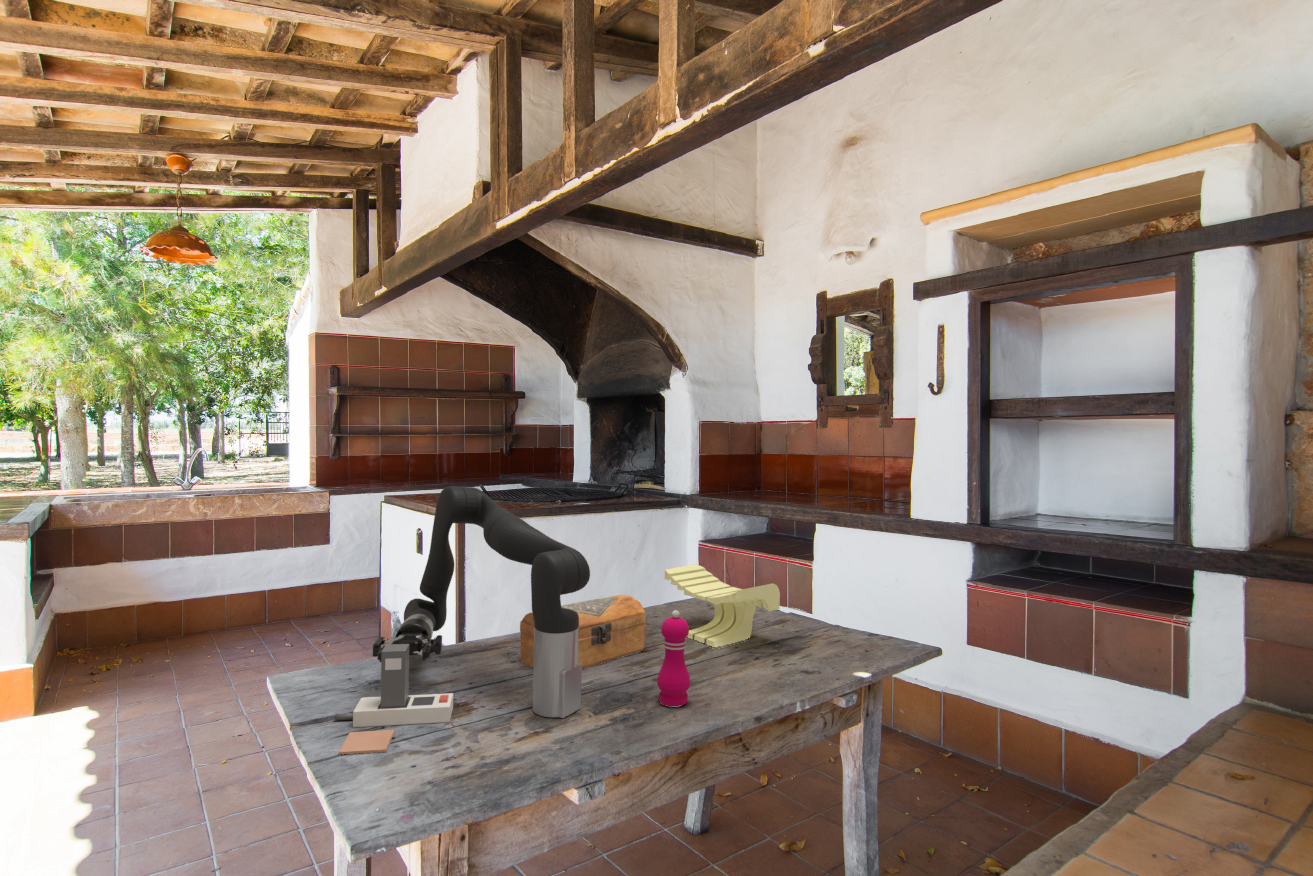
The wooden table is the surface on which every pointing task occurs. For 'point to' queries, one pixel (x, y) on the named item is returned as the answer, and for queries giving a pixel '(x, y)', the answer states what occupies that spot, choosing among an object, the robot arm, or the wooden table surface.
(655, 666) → the wooden table surface
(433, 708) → the power strip
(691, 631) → the slatted curved stool
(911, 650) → the wooden table surface
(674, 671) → the pepper mill
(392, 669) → the block
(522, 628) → the wooden box
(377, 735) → the tile coaster
